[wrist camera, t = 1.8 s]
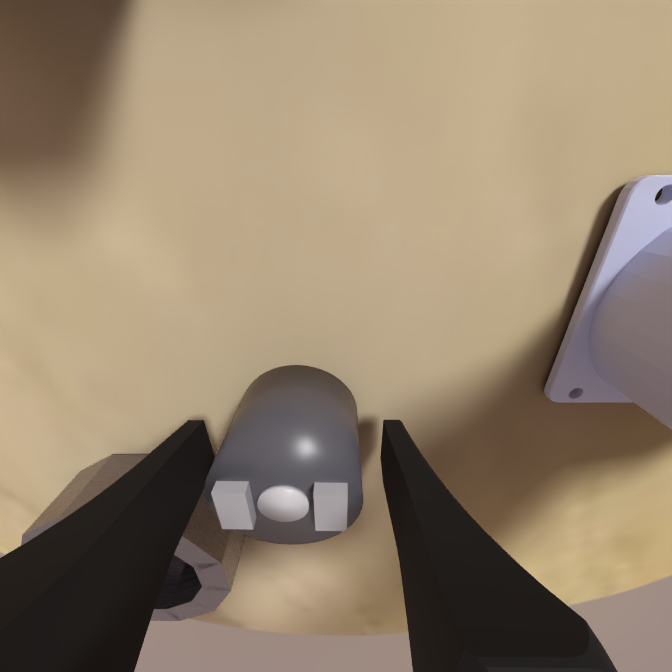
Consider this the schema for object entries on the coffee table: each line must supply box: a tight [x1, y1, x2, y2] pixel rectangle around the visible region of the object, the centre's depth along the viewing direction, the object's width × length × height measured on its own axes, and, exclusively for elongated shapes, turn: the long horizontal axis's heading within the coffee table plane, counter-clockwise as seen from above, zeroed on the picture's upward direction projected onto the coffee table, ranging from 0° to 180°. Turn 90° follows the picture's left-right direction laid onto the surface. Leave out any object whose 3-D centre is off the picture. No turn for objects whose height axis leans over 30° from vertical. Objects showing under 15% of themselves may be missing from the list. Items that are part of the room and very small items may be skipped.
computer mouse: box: [204, 365, 363, 544], centre depth 11 cm, size 5×5×4 cm
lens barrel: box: [21, 454, 246, 621], centre depth 15 cm, size 9×9×3 cm
